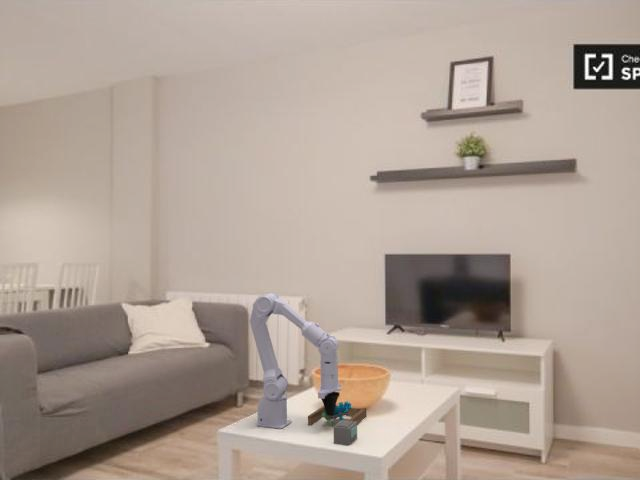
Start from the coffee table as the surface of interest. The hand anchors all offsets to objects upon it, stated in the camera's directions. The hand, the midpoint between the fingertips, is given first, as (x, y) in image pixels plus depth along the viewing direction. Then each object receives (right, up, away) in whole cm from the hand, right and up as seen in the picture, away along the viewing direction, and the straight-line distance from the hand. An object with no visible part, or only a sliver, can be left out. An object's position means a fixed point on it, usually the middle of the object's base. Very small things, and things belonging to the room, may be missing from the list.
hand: (330, 415), depth 189 cm
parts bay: (+2, -4, +6) cm, 7 cm away
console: (+5, -4, -13) cm, 15 cm away
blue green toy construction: (+2, -4, +5) cm, 7 cm away
